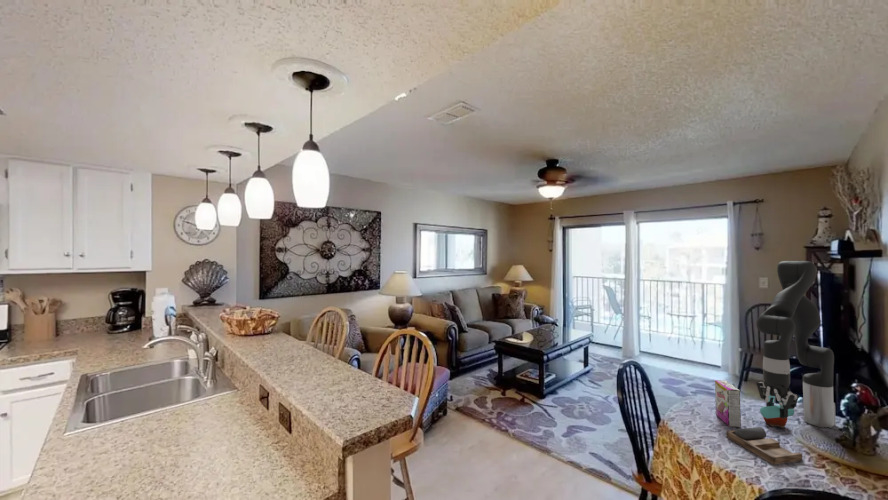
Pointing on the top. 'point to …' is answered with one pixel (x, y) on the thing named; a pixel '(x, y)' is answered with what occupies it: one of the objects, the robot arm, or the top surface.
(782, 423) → the fruit
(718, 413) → the candy bar box
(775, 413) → the teal rod
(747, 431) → the gray rounded cylinder
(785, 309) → the robot arm
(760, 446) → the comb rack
